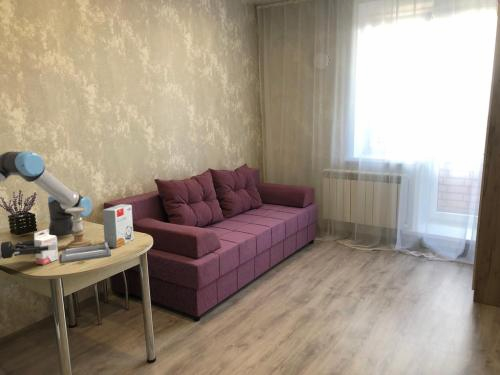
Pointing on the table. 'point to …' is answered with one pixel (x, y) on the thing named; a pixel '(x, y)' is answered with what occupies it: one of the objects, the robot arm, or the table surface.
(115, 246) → the hard drive box
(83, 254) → the rail cradle
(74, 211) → the candle holder
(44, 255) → the ink cartridge box
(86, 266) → the table surface
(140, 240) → the table surface
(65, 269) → the table surface
